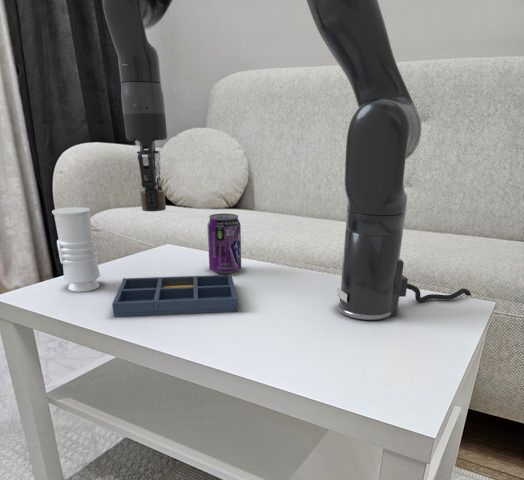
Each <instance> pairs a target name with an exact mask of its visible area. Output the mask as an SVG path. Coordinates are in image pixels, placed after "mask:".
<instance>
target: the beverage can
mask: <svg viewBox="0 0 524 480" xmlns="http://www.w3.org/2000/svg"><path fill="white" fill-rule="evenodd" d="M208 218H209V220H208V222H207V243H208V244H207V245H208V246H207V248H208V267H209V270H210V271H213V272H215V273H216V274H219V275H231V274H234V273H236V272H238V271H239V270H241V269H242V235H241V233H242V231H241V229H242V228H241V222H240V220H239V215H238V214H235V213H222V212H221V213H214V214H209V216H208Z"/></svg>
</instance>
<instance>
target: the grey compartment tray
mask: <svg viewBox="0 0 524 480" xmlns="http://www.w3.org/2000/svg"><path fill="white" fill-rule="evenodd" d="M238 303H239V300H238V295H237V291H236V287H235V283H234V279H233V275H232V274H213V275H211V274H210V275H185V276H182V275H181V276H155V277H154V276H153V277H126V278H125V277H124V278H122V281H121V283H120V285H119V287H118V290H117V292H116V293H115V297H114V299H113V301H112V304H111V305H112V311H113V312H112V313H113V317H115V318H117V317H142V316H162V315H163V316H164V315H184V314H185V315H187V314H208V313H210V314H211V313H233V312H234V313H235V312H238V311H239V304H238Z"/></svg>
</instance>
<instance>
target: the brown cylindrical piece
mask: <svg viewBox="0 0 524 480" xmlns="http://www.w3.org/2000/svg"><path fill="white" fill-rule="evenodd" d="M139 193H140V194H139V195H140V203H141V210H142V211H143V212H150V211H149V210H147V205H146V196H145V190H144V189H143V190H140V192H139ZM157 195H158V205H159V209H158V210H156V211H155V212H161V211H165V210H167V206H166V195H165V190H163V189H159V190H157Z"/></svg>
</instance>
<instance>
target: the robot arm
mask: <svg viewBox="0 0 524 480" xmlns="http://www.w3.org/2000/svg"><path fill="white" fill-rule="evenodd" d="M173 1H174V0H102V1H101V2H102V9H103V13H104V17H105V21H106V24H107V28H108V31H109V34H110V38H111V40H112V41H111V42H112V44H113V46H114V49H115V52H116V55H117V61H118V69H119V80H120V90H121V91H120V92H121V93H120V97H121V98H120V99H121V106H122V107H121V108H122V116H123V124H124V131H125V138H126V140H127V141H131V142H132V141H133V142H135V141H137V142H138V143H139V150H138V151H136V159H137V162H138V168H139V169H138V170H139V176H140V179H141V182H140V183H141V187H142V189H143V191H144V190H145V196H146V205H147V210H149V211H148V212H157V211H156V210H158V209H159V205H158V195H157V190H160V185H161V177H160V176H161V164H160V163H161V162H160V161H161V153H160V150H156V141H165V140H167V138H168V130H167V129H168V128H167V119H166V108H165V97H164V93H163V88H162V79H161V78H162V77H161V67H160V58H159V54H158V50H157V49H156V47H154V46H153V45H152V44H151V43H150V41H149V40H148V38H147V37H148V36H147V33H146V31H147V30H150V29H152V28H153V27H155V26H156V25H158V23H159V22H161V20H163V18H164V16H165V15H166V13H167V12H168V10H169V8H170V6H171V4H172V3H173ZM306 2H307V7H308V9H309V11H310V14H311V17H312V20H313V23H314V25H315V27H316V29H317V31H318V33H319V35H320V37H321V39H322V41H323V42H324V44H325V46H326V47H327V49H328V51H329V52H330V54H331V55H332V57H333V58H334V60H335V61H336V63H337V64H338V66H339V67H340V68H341V70H342V71H343V73H344V75H345V76H346V79H347V80H348V82H349V84H350V86H351V89H352V91H353V94H354V97H355V100H356V103H357V109H356V111H355V112H354V113H353V115H352V117H351V119H350V122H349V125H348V128H347V135H346V144H345V163H344V192H345V195H346V197H347V198H346V199H347V204H346V205H347V207H346V219H345V231H344V244H343V255H342V267H341V269H342V270H341V279H340V280H341V281H340V288H339V287H337V292H336V293H337V294H336V296H337V297H338V298H339V302H338V303H339V304H338V311H339V312H340V313H341V314H343V315H344V316H347V317H348V318H351V319H352V318H353V319H357V320H362V321H378V320H379V321H380V320H385V319H388V318H390V317H395V316H396V317H397V315H398V309H399V302H400V301H399V300H400V298H401V297H402V298H404V297H406V296H407V290H410V291H412V292H414V294H415V297H414V298H415V301H416V302H418V303H424V302H426V301H429V300H444V301H445V300H453V299H456V298H458V297H460V296H461V295H463V294H464V295H465V296H466V297H467V296H468V297H471V296H472V293H471V291H470V290H468V289H467V288H461V289H460V288H459V289H458V290H457V291H455V292H453V293H451V294H437V293H436V294H435V293H430V294H426V295H424V296H421V290H420V289H419V288H418V287H417V286H415V285H414V284H411V283H408V281H409V278H407V277H406V276H405V275H403V273H404V272H403V271H404V265H405V264H404V263H405V262H404V261H403V259H401V258H400V257H401V251H402V250H401V249H402V243H403V236H404V235H403V234H404V226H405V220H406V219H405V218H406V211H407V206H408V195H407V192H406V190H405V186H404V181H405V178H404V177H405V169H406V168H405V167H406V160H407V159H408V158H410V157H411V156H412V155H413V154H414V153H415V151H416V150H417V149H418V146H419V144H420V141H421V139H422V137H421V136H422V128H423V127H422V119H421V117H420V114H419V111H418V109H417V106H416V105H415V102H414V101H413V98H412V96H411V94H410V92H409V90H408V88H407V85H406V83H405V81H404V79H403V76H402V74H401V72H400V69H399V67H398V64H397V62H396V59H395V57H394V52H393V49H392V46H391V41H390V38H389V34H388V31H387V27H386V23H385V19H384V16H383V13H382V10H381V6H380V4H379V0H306Z"/></svg>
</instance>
